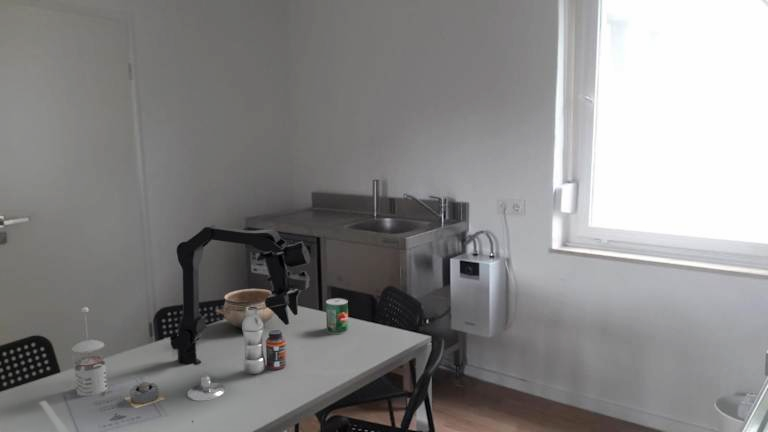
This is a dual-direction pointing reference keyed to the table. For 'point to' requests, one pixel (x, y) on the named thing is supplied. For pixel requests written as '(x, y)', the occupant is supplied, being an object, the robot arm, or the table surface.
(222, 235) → the robot arm
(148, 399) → the collar
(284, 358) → the supplement bottle
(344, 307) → the canned tomato
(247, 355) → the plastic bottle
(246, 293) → the cooking pot
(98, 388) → the french press
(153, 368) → the table surface
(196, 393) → the disc
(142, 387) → the stand
